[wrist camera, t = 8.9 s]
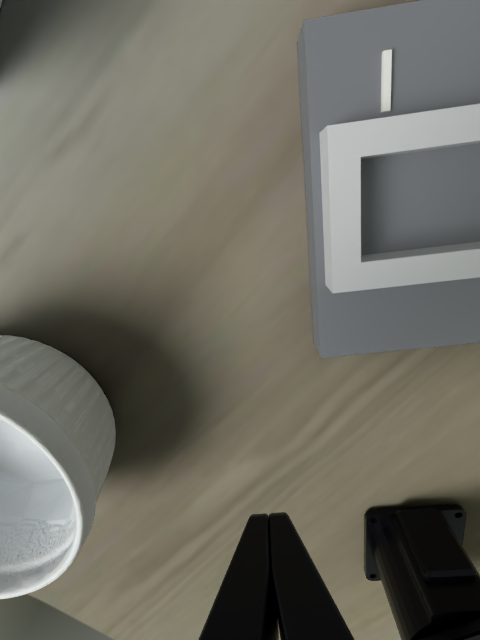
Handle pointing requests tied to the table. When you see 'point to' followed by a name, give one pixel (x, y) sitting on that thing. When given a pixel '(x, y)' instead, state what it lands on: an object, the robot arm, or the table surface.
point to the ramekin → (47, 461)
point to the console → (392, 175)
